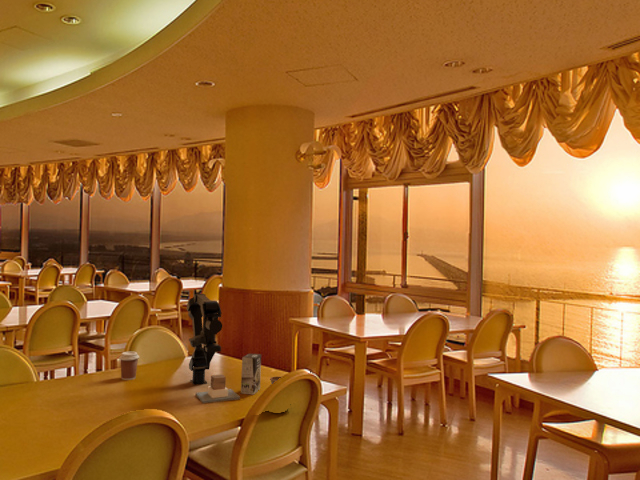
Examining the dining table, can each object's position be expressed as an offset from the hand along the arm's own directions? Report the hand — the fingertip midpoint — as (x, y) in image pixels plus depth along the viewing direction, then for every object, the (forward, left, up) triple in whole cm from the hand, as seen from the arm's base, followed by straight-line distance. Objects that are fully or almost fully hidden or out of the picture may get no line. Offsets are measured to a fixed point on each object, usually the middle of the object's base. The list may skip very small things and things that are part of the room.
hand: (207, 364), depth 230 cm
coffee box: (+7, +18, -12) cm, 23 cm away
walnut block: (+10, +2, -8) cm, 13 cm away
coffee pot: (+35, +24, -12) cm, 44 cm away
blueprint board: (+10, +2, -12) cm, 16 cm away
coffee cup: (-33, -29, -12) cm, 46 cm away
